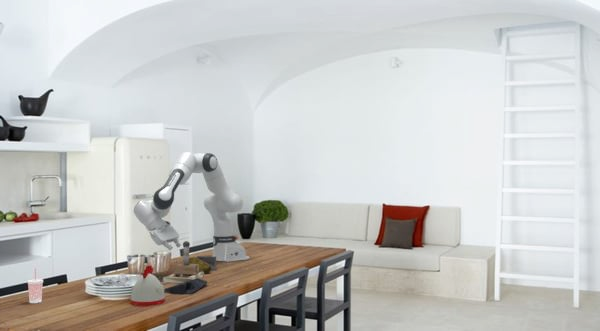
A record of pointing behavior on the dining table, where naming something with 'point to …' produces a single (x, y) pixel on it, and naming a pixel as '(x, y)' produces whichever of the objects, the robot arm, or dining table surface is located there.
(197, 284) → the dark slate chunk
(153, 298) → the grey and red dome
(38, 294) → the beverage cup
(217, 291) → the dining table surface
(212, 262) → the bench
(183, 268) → the wooden knobbed block
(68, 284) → the dining table surface
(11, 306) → the dining table surface
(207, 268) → the olive green rounded lump
